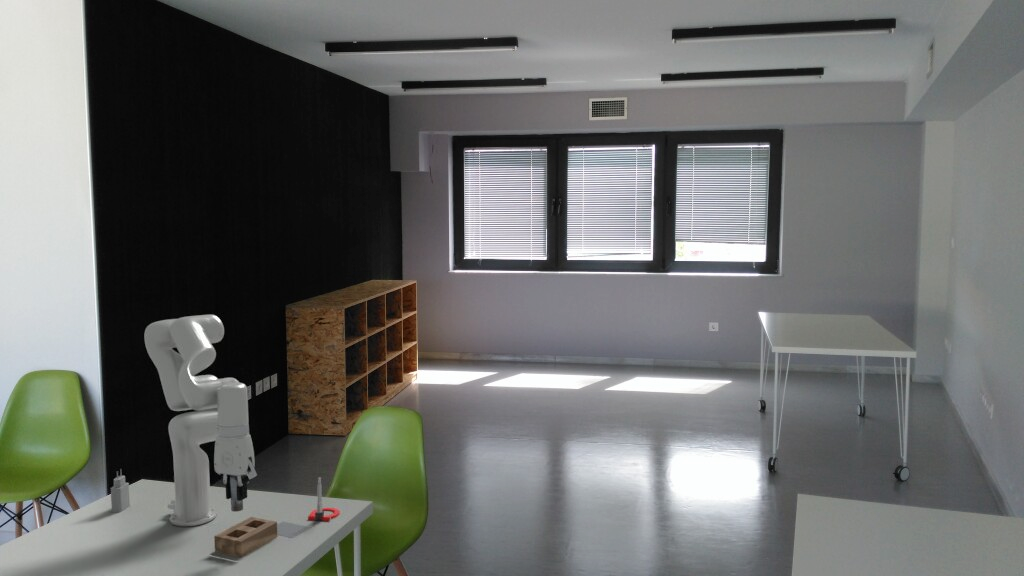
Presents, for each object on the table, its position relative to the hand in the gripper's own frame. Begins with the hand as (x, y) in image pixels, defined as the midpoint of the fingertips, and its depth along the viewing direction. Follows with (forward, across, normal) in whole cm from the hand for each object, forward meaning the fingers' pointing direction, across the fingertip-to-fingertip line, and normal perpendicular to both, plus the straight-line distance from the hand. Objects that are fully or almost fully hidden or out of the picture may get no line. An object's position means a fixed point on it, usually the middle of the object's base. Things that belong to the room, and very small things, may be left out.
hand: (236, 497), depth 207 cm
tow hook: (+15, +6, +29) cm, 33 cm away
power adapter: (+14, -54, +9) cm, 56 cm away
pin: (+3, 0, 0) cm, 3 cm away
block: (+15, -1, +4) cm, 15 cm away
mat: (+15, +3, +16) cm, 22 cm away
